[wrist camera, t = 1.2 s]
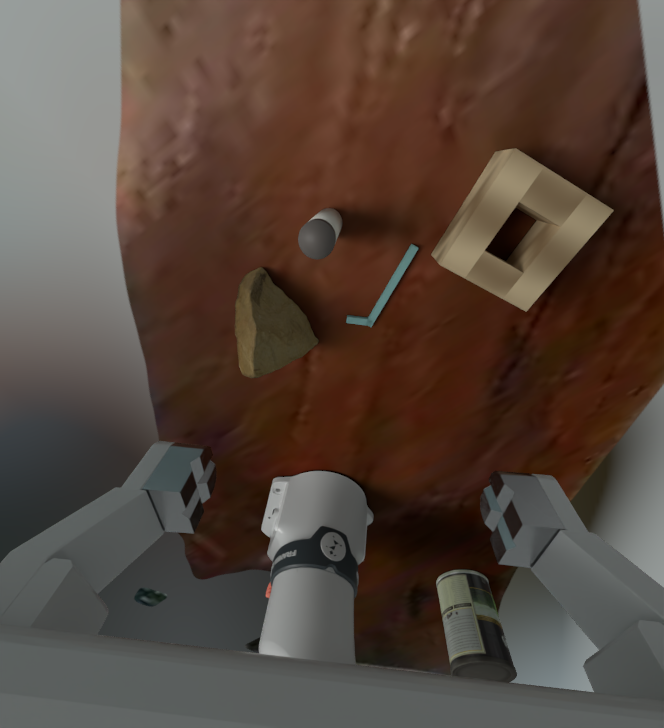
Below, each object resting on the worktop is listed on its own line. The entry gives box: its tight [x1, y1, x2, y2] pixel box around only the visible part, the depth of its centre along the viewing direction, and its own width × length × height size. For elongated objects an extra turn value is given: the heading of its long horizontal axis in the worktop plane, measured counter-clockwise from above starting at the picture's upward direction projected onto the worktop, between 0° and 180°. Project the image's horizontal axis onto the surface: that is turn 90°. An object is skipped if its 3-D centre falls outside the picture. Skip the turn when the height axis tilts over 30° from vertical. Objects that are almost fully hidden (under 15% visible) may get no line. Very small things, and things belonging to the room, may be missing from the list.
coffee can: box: [436, 569, 517, 683], centre depth 59 cm, size 10×10×14 cm
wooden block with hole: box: [431, 148, 614, 311], centre depth 30 cm, size 10×10×4 cm
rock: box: [235, 267, 319, 378], centre depth 36 cm, size 11×9×10 cm
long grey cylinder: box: [298, 208, 342, 259], centre depth 29 cm, size 3×3×10 cm
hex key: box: [346, 244, 419, 327], centre depth 36 cm, size 11×3×1 cm, turn 155°
